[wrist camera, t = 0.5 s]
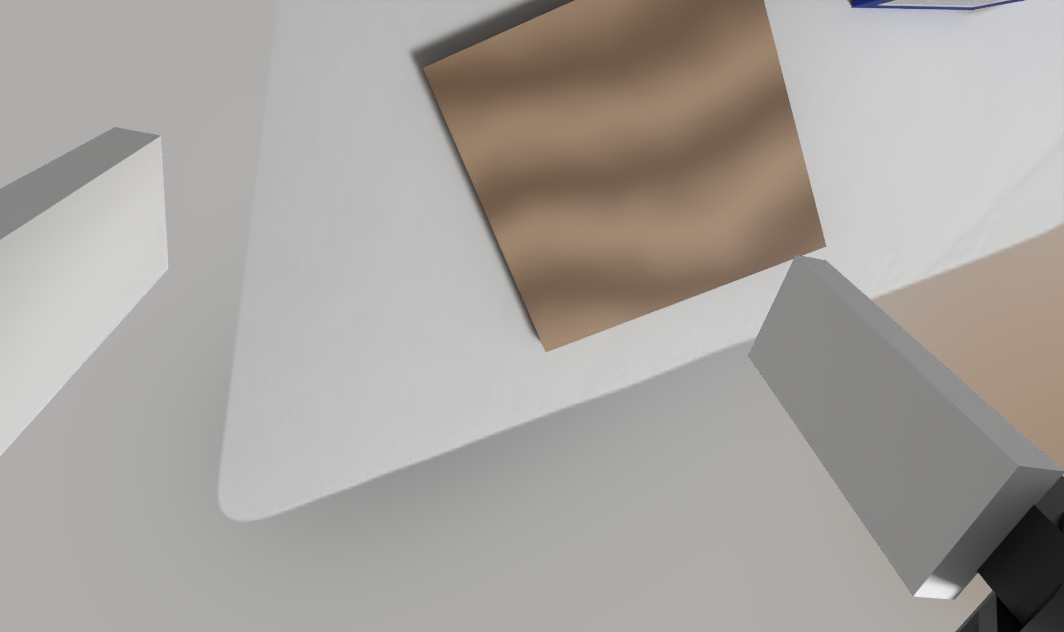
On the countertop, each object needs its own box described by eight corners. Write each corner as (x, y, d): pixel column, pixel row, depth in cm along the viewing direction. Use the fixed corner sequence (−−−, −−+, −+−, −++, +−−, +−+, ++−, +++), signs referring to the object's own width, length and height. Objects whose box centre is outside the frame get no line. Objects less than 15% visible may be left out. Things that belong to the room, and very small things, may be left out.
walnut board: (426, 68, 35) (422, 67, 34) (736, -70, 33) (744, -76, 32) (545, 345, 41) (545, 352, 40) (817, 241, 39) (826, 246, 38)
